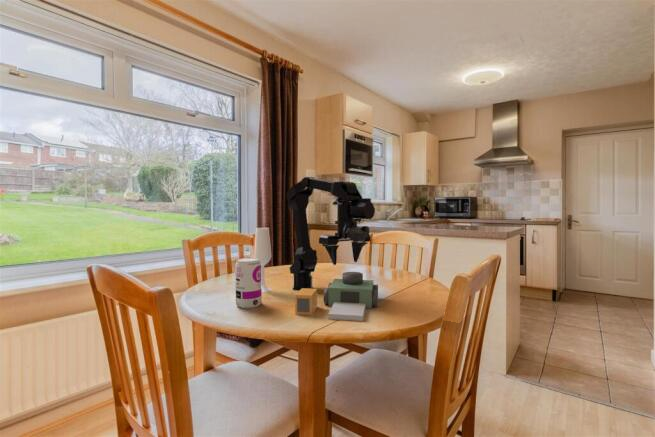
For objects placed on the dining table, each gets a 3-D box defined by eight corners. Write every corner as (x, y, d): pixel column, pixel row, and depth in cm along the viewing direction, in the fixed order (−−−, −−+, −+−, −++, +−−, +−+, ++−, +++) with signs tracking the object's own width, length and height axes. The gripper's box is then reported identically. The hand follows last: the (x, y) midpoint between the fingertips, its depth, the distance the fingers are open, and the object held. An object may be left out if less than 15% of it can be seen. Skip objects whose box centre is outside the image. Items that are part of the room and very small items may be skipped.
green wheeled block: (315, 318, 97) (315, 287, 96) (330, 294, 121) (330, 270, 121) (375, 321, 94) (375, 290, 93) (378, 297, 118) (378, 272, 118)
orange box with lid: (295, 314, 100) (294, 295, 100) (302, 306, 108) (301, 288, 108) (311, 315, 99) (311, 295, 99) (317, 307, 108) (316, 288, 107)
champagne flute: (273, 288, 131) (272, 227, 130) (270, 292, 124) (270, 228, 123) (255, 288, 131) (255, 227, 130) (252, 293, 124) (251, 228, 123)
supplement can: (266, 302, 112) (265, 258, 111) (252, 310, 104) (252, 262, 104) (245, 300, 115) (244, 257, 114) (230, 307, 107) (230, 261, 106)
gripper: (338, 220, 102) (338, 270, 103) (382, 218, 113) (381, 264, 114) (318, 218, 111) (317, 264, 112) (360, 217, 122) (359, 259, 123)
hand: (345, 263), depth 115 cm, fingers open, 9 cm apart
